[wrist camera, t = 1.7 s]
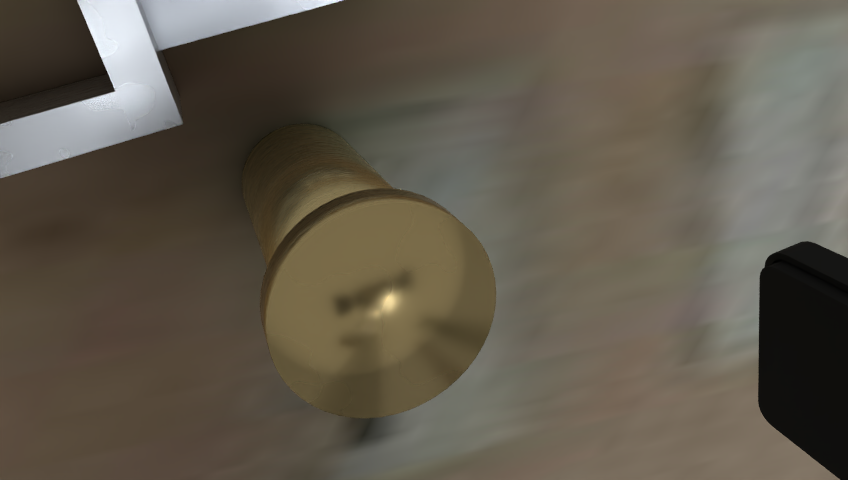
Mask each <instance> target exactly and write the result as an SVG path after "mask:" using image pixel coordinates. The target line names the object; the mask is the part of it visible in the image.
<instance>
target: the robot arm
mask: <svg viewBox="0 0 848 480" xmlns="http://www.w3.org/2000/svg"><path fill="white" fill-rule="evenodd" d="M758 402H759V407H760V410H761V412H762V414H763V416H764V418H765V419H766V420H767V421H768V423H770V424H771V425H772V426H773V427H774V428H775V429H777V430H778V431H779V432H780V433H782V434H783V435H784V436H786V437H787V438H788V439H789V440H791V441H792V442H793V443H794V444H796V445H797V446H798V447H800V448H801V449H802V450H803V451H805V452H806V453H807V454H808V455H810V456H811V457H812V458H813V459H815V460H816V461H817V462H819V463H820V464H821V465H822V466H824V467H825V468H826V469H827V470H829V471H830V472H831V473H833V474H834V475H835V476H836V477H838V478H839V479H840V480H848V258H846V257H844V256H842V255H840V254H837V253H835V252H833V251H831V250H829V249H826V248H824V247H822V246H820V245H818V244H815V243H812V242H809V241H806V242H800V243H798V244H795V245H793V246H790V247H788V248H786V249H783V250H781V251H778V252H776V253H773V254H772V255H770V256H769V257H768V258H767V260H766V262H765V268H763V269H762V271H761V273H760V300H759V383H758Z"/></svg>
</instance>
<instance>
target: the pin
mask: <svg viewBox="0 0 848 480" xmlns="http://www.w3.org/2000/svg"><path fill="white" fill-rule="evenodd" d="M242 192H243V196H244V200H245V203H246V206H247V209H248V212H249V215H250V218H251V221H252V224H253V227H254V229H255V232H256V235H257V238H258V241H259V244H260V247H261V250H262V253H263V256H264V259H265V262H266V265H267V270H266V272H265V275H264V279H263V283H262V288H261V297H260V312H261V321H262V325H263V329H264V333H265V337H266V340H267V344H268V348H269V351H270V355H271V358H272V360H273V363H274V365H275V367H276V369H277V371H278V373H279V374H280V376H281V377H282V379H283V381H284V382H285V383H286V384H287V385H288V386H289V388H290V389H291V390H292V391H293V392H294V393H296V394H297V395H298V396H299V397H300V398H301V399H303V400H304V401H306V402H308V403H309V404H311V405H312V406H314V407H316V408H319V409H321V410H323V411H325V412H328V413H332V414H335V415H339V416H345V417H351V418H375V417H384V416H389V415H394V414H398V413H401V412H404V411H407V410H410V409H412V408H415V407H417V406H419V405H421V404H423V403H425V402H427V401H429V400H431V399H432V398H434V397H436V396H437V395H439V394H440V393H441V392H443V391H444V390H446V389H447V388H448V387H449V386H450V385H452V384H453V383H454V382H455V381H456V380H457V379H458V378H459V377H460V376H461V375H462V374H463V373H464V372H465V371H466V370H467V369H468V367H469V366H470V365H471V363H472V362H473V361H474V359H475V358H476V356H477V355H478V353H479V351H480V350H481V348H482V346H483V344H484V342H485V340H486V338H487V336H488V333H489V330H490V327H491V324H492V321H493V317H494V311H495V305H496V285H495V277H494V273H493V268H492V265H491V263H490V260H489V257H488V255H487V253H486V251H485V250H484V248H483V246H482V244H481V243H480V242H479V240H478V239H477V238H476V237H475V235H474V234H473V233H472V232H471V231H470V230H469V229H468V228H467V227H466V226H465V225H463V224H462V223H461V222H460V221H459V220H458V219H457V218H456V217H454V216H453V215H452V214H451V213H450V212H449V211H448V210H446V209H445V208H444V207H442V206H441V205H439V204H438V203H436V202H435V201H433V200H431V199H429V198H427V197H425V196H423V195H419V194H416V193H413V192H410V191H405V190H399V189H393V188H392V187H391V186H390V185H389V184H388V183H387V182H386V181H385V180H384V179H383V178H382V177H381V176H380V175H379V174H378V173H377V172H376V171H375V170H374V169H373V168H372V167H371V166H370V165H369V164H368V163H367V162H366V161H365V160H364V159H363V158H362V157H361V156H360V155H359V154H358V153H357V152H356V151H355V150H354V149H353V148H352V147H351V146H350V145H349V144H348V143H347V142H346V141H345V140H343V139H342V138H341V137H340V136H339V135H337V134H336V133H334V132H333V131H331V130H329V129H327V128H324V127H321V126H317V125H312V124H294V125H289V126H285V127H282V128H280V129H277V130H275V131H273V132H272V133H270V134H269V135H267V136H266V137H264V138H263V139H262V140H261V141H260V142H259V143H258V144H257V145H256V146H255V147H254V149H253V150H252V152H251V153H250V155H249V157H248V159H247V161H246V163H245V166H244V169H243V175H242Z"/></svg>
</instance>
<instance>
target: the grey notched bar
mask: <svg viewBox="0 0 848 480" xmlns="http://www.w3.org/2000/svg"><path fill="white" fill-rule="evenodd" d="M77 1H78V4H79V6H80V8H81V11H82V13H83V15H84V18H85V20H86V23H87V25H88V27H89V30H90V32H91V34H92V37H93V39H94V42H95V44H96V46H97V49H98V51H99V53H100V56H101V58H102V60H103V63H104V65H105V68H106V70H107V72H108V74H104V75H101V76H97V77H93V78H90V79H86V80H83V81H79V82H75V83H72V84H68V85H64V86H61V87H57V88H54V89H50V90H46V91H43V92H39V93H35V94H32V95H28V96H25V97H21V98H17V99H14V100H10V101H6V102H3V103H0V178H3V177H6V176H10V175H13V174H17V173H20V172H23V171H27V170H30V169H33V168H37V167H40V166H43V165H47V164H50V163H53V162H57V161H60V160H64V159H67V158H70V157H74V156H77V155H80V154H84V153H87V152H90V151H94V150H97V149H101V148H104V147H107V146H111V145H114V144H117V143H121V142H124V141H127V140H131V139H134V138H137V137H141V136H144V135H148V134H151V133H154V132H158V131H161V130H164V129H168V128H171V127H174V126H178V125H181V124H183V119H182V111H181V103H180V96H179V94H178V91H177V88H176V86H175V83H174V81H173V78H172V75H171V73H170V70H169V67H168V65H167V62H166V60H165V57H164V54H163V52H162V50H163V49H167V48H170V47H174V46H178V45H181V44H185V43H189V42H192V41H196V40H200V39H203V38H207V37H211V36H214V35H218V34H222V33H225V32H229V31H233V30H236V29H240V28H244V27H247V26H251V25H255V24H258V23H262V22H266V21H269V20H273V19H277V18H280V17H284V16H288V15H291V14H295V13H299V12H302V11H306V10H310V9H313V8H317V7H321V6H324V5H328V4H332V3H335V2H339V1H343V0H77Z"/></svg>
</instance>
